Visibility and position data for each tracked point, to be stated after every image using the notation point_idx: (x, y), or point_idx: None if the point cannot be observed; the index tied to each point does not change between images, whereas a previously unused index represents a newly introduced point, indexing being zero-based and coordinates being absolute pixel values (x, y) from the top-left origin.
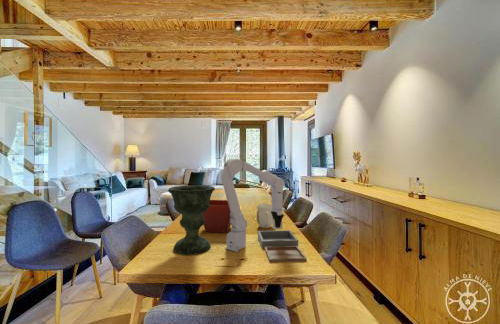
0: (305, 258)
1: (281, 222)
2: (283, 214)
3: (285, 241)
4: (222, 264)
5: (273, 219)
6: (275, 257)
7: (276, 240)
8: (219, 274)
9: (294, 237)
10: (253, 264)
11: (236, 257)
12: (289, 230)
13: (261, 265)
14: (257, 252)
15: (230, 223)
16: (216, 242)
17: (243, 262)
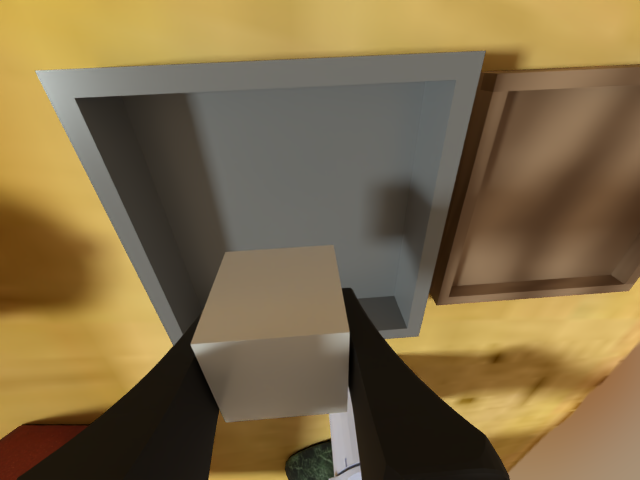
0: None
1: (344, 318)
2: (458, 476)
3: (448, 191)
4: (516, 396)
5: (269, 413)
6: (575, 252)
7: (426, 259)
8: (586, 393)
9: (369, 76)
10: (569, 326)
11: (471, 372)
12: (51, 82)
13: (598, 302)
14: (440, 314)
15: (30, 455)
16: (287, 430)
17: (531, 353)
